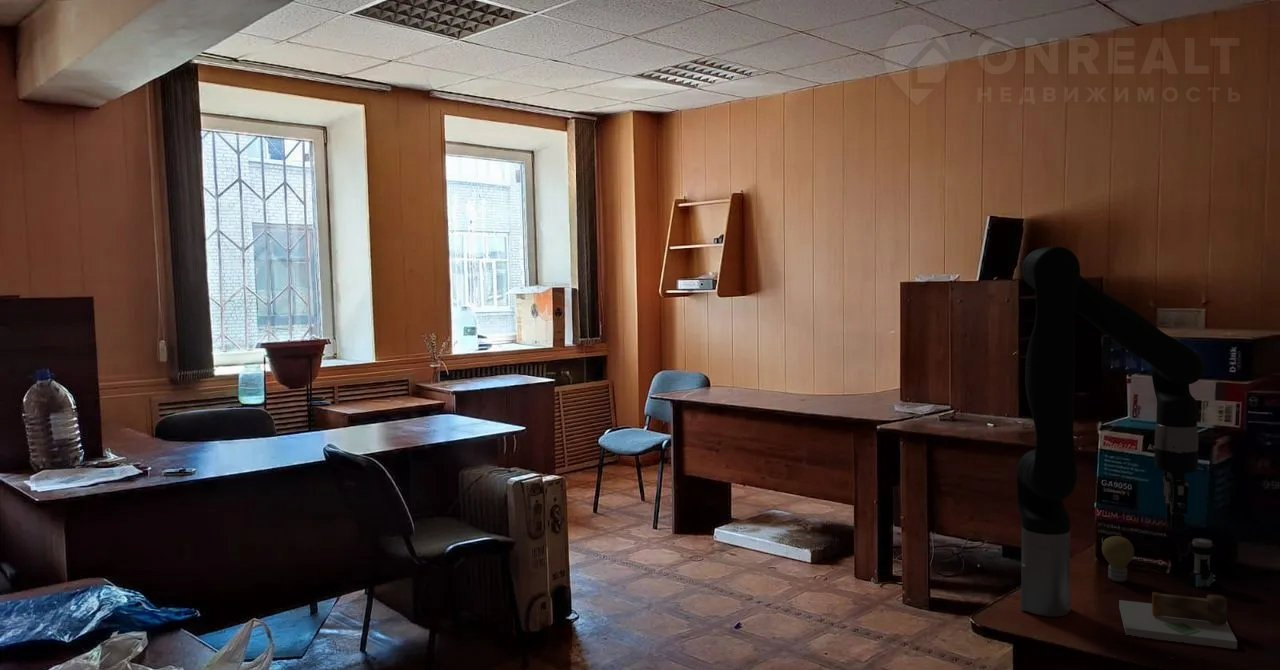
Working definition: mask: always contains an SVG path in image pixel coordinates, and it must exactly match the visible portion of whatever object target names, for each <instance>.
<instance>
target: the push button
mask: <svg viewBox="0 0 1280 670" xmlns="http://www.w3.org/2000/svg"><path fill="white" fill-rule="evenodd" d="M1187 546H1188V550H1189V552H1191V553H1192V554H1194V555H1193V556H1194V560H1193V561H1194V567H1193V571H1192V572H1189V573H1188V584H1189V585H1191V586H1192V585H1193V587H1195V586H1196V588H1198V586H1199V587H1200V588H1202V587H1201V586H1204V587H1207V586H1208V587H1211V585H1210V584H1212V583H1213V584H1214V582H1215V581H1216V579H1214V578H1215V577H1216V575H1214V573H1213V572H1211V569H1210V566H1211V565H1210V564H1211V563H1210V562H1211V560H1210V559H1211V556H1214V555H1215V554H1216V551H1217V548H1218V546H1217V545H1215V544H1214V543H1213V541H1212V540H1210V539H1207V538H1201V537H1197V538H1192V541H1189V542H1188V543H1187ZM1213 584H1212V585H1213ZM1205 585H1206V586H1205Z"/></svg>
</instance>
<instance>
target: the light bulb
mask: <svg viewBox="0 0 1280 670" xmlns="http://www.w3.org/2000/svg"><path fill="white" fill-rule="evenodd" d="M1101 551H1102V552H1101V553H1102V555H1103V557H1104V559H1105V560H1106V561H1107V562H1108V563H1109V565H1108V571H1107V572H1108V574H1107V575H1108V576H1107V577H1108V578H1109V579H1110V580H1111V581H1113V582H1118V583H1122V582H1126V581H1127V579H1128V576H1127V575H1128V567H1127V566H1128V564H1130V562H1132V560H1133V558H1134V557H1135V556H1134V555H1135V548H1134V545H1133V543H1132V542H1131V541H1130V540H1129V539H1128V538H1125V537H1123V536H1119V535H1111V536H1109V537H1107V538H1105V539H1104V540H1103V542H1102V544H1101Z"/></svg>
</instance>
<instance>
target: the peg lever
mask: <svg viewBox="0 0 1280 670" xmlns="http://www.w3.org/2000/svg"><path fill="white" fill-rule="evenodd" d="M1227 601H1228V600H1227V598H1226V597H1225V596H1223V595H1219V594H1207V595H1206V598H1205V597H1195V596H1186V595H1177V594H1167V593H1160V592H1157V591H1152V593H1151V604H1152V614H1153V616H1167V617H1176V618H1184V619H1193V620H1202V621H1209V622H1211V623H1215V624H1225V623H1226V621H1227V609H1228V608H1227V607H1228V604H1227V603H1228V602H1227Z"/></svg>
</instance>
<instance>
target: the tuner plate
mask: <svg viewBox="0 0 1280 670" xmlns="http://www.w3.org/2000/svg"><path fill="white" fill-rule="evenodd" d="M1118 603H1119V604H1118V608H1119V612H1120V616H1121V620H1122V621H1121V622H1122V624H1123V628H1124V629H1125V630H1124V633H1126V634H1125V636H1126V635H1132V636H1131V637H1134V636H1137V638H1142V637H1144V638H1143V639H1150V638H1151V639H1152V640H1159V641H1166V640H1167V642H1168V641H1169V642H1174V641H1175V643H1182V642H1184V644H1191V645H1198V646H1208V647H1214V646H1215V648H1224V649H1230V650H1231V649H1232V650H1237V649H1238V640H1237V638H1236V636H1235V634H1234V633H1233V630H1232V629H1231V627H1230V624H1229V623H1228V621H1227V620H1226V623H1225V624H1215V623H1211V622H1209V621H1202V620H1193V619H1184V618H1176V617H1167V616H1153V614H1152V602H1151V603H1149V602H1142V601H1131V600H1123V599H1119V600H1118Z"/></svg>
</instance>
